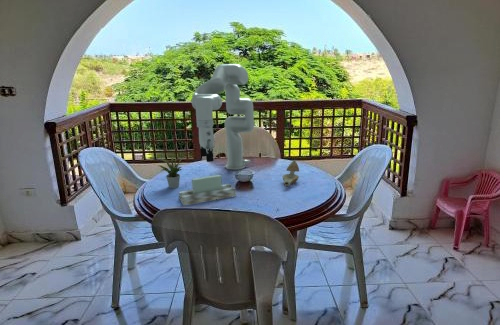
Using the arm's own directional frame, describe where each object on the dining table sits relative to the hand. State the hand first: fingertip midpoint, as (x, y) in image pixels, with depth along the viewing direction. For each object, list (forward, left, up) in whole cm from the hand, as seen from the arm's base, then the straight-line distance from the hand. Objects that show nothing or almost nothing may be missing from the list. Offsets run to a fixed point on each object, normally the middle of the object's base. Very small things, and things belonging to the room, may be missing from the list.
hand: (207, 158), depth 161 cm
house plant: (+12, -21, -19) cm, 31 cm away
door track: (+1, +2, -19) cm, 19 cm away
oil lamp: (-45, +2, -19) cm, 49 cm away
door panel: (+1, +2, -18) cm, 18 cm away
